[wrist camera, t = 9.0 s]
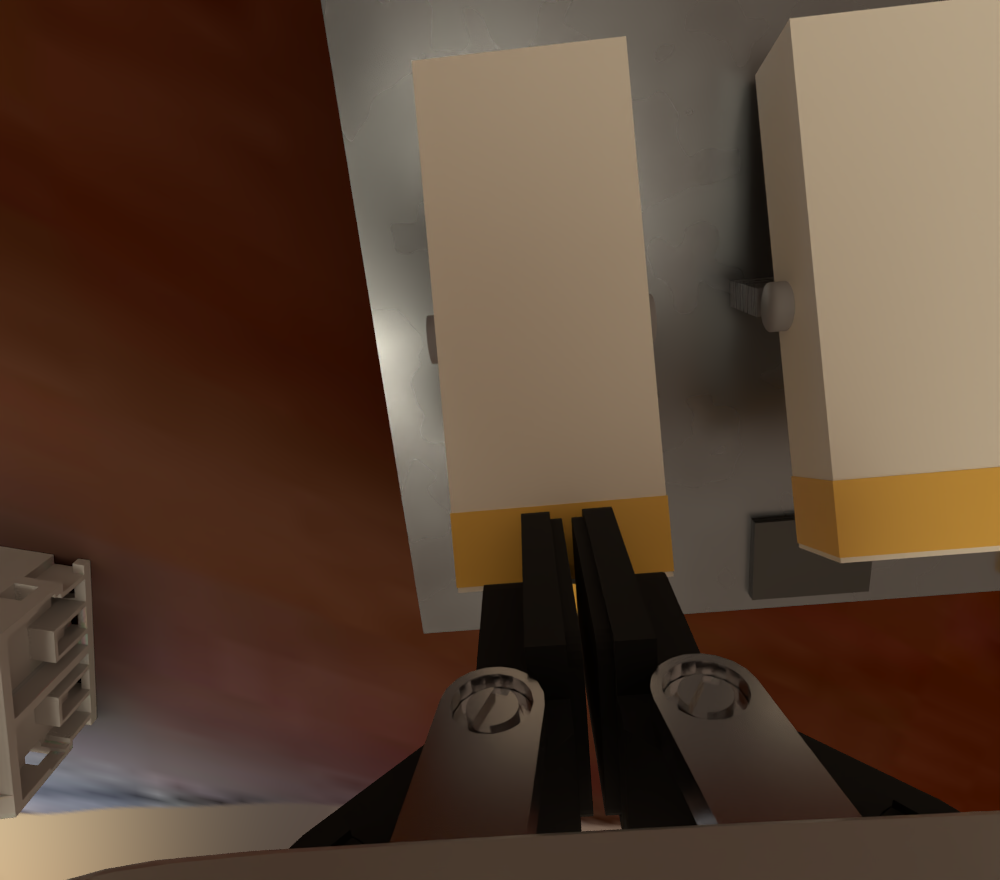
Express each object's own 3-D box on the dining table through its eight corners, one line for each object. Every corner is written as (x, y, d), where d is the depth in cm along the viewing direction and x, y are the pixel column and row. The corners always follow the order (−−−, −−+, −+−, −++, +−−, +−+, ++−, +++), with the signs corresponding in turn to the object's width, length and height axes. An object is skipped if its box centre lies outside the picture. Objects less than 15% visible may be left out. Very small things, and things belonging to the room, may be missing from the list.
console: (357, -30, 18) (270, -170, 11) (1193, -132, 17) (1624, -349, 10) (440, 549, 24) (414, 675, 17) (1060, 499, 23) (1280, 612, 16)
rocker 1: (413, 113, 14) (395, 61, 12) (626, 89, 14) (642, 33, 12) (454, 572, 14) (442, 594, 12) (667, 555, 14) (689, 575, 12)
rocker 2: (739, 79, 14) (773, 19, 12) (960, 55, 13) (1032, -10, 12) (782, 547, 14) (824, 564, 12) (1006, 530, 13) (1087, 544, 11)
